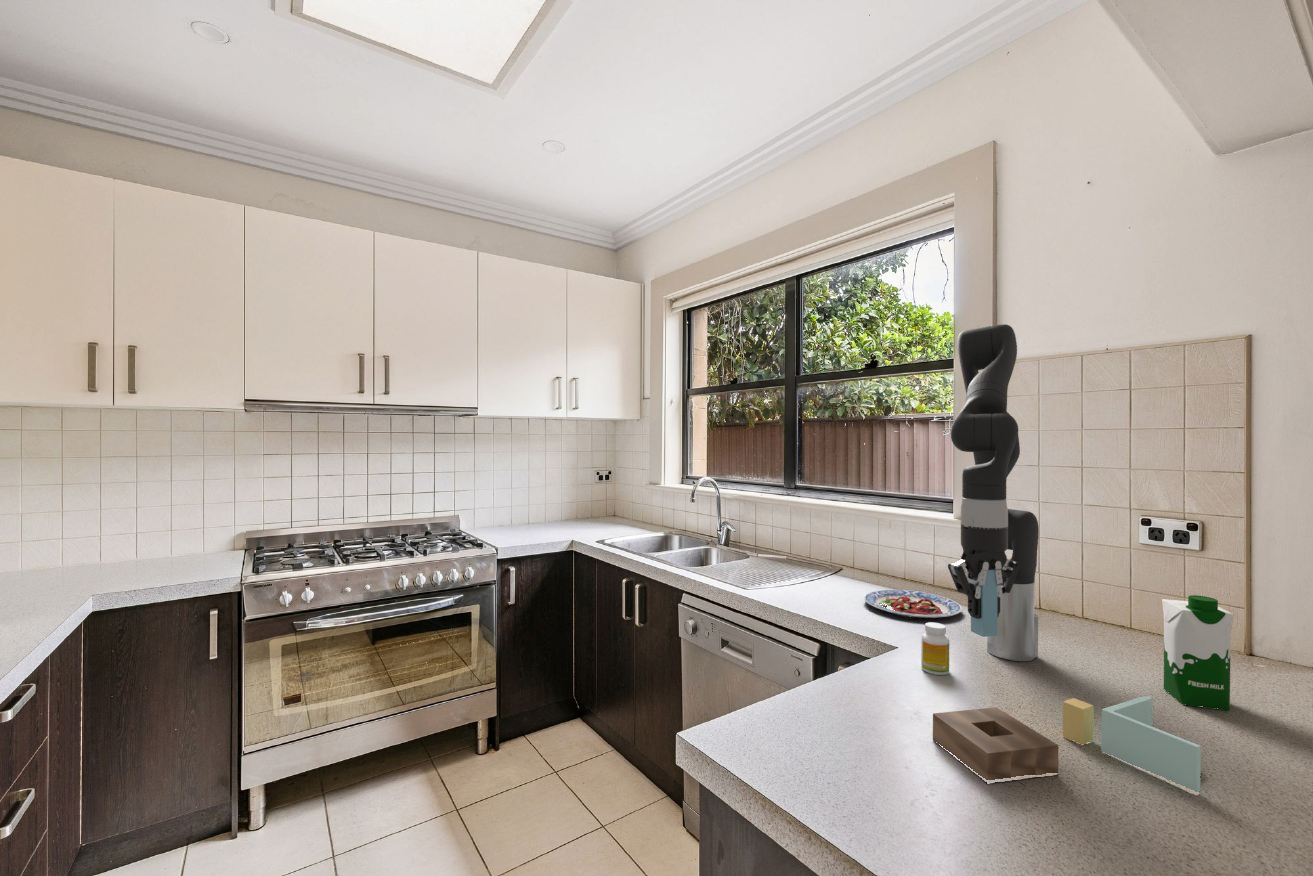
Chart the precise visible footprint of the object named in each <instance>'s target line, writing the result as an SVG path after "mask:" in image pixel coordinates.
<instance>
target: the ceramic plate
mask: <svg viewBox="0 0 1313 876" xmlns="http://www.w3.org/2000/svg"><path fill="white" fill-rule="evenodd" d="M864 601H865V602H866V603H867V604H868V605H870V606H872V607H874V608H875V609H879V610H881V611H885V612H888V613H890V612H891V614H893V613H895V614H894V615H897V614H899V615H898V616H901V615H903V616H902V617H906V616H911V617H910V618H914V617H920V618H919V619H934V618H935V619H936V618H944V617H945V618H946V617H947V618H948V617H952V616H955V615H958V614H960V613H961V612H962V610H963V608H962V606H961V604H959V603H958V602H957V601H955V600H953V599H950V598H948V597H946V596H945V597H944V596H941V595H939V594H934V593H929V592H924V591H918V590H907V589H881V590H874V591H871V592H868V593H866V594H865V595H864ZM917 601H918V602H917ZM882 603H883V604H884V603H885V604H887V605H888V606H891V607H892V609H893V610H890V609H887V608H886V607H887V605H886V606H885V604H884V605H883V604H882ZM880 604H882V605H880ZM882 606H883V607H882ZM938 606H939V607H938ZM884 607H885V608H884ZM940 608H941V609H940ZM894 610H895V611H894ZM941 610H943V611H941Z"/></svg>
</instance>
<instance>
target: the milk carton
mask: <svg viewBox="0 0 1313 876" xmlns="http://www.w3.org/2000/svg"><path fill="white" fill-rule="evenodd" d="M1187 597H1188V599H1187V600H1177V599H1166V598H1165V599H1163V598H1162V599H1161V601H1162V611H1163V612H1162V613H1163V690H1164V689H1165V690H1166V691H1165V690H1164V691H1165V692H1167V693H1168V692H1169V693H1168V694H1169V695H1170V694H1171V695H1172V696H1171V695H1170V696H1171V697H1173V698H1174V699H1175V698H1176V699H1177V700H1178V702H1179V703H1180V702H1181V703H1180V704H1181V705H1182V704H1186V705H1185V706H1187V705H1190V706H1189V707H1195V706H1203V707H1206V708H1205V709H1211V708H1216V709H1215V710H1219V709H1221V710H1220V711H1227V710H1230V709H1231V645H1232V644H1231V642H1232V641H1231V640H1232V639H1231V638H1232V637H1231V635H1232V628H1233V622H1234V616H1235V615H1234V613H1232V612H1230V611H1228V610H1226V609H1224V608H1222V607H1220V606H1219V600H1218V599H1216V598H1213V597H1209V596H1206V595H1204V596H1203V595H1196V594H1195V595H1194V594H1193V595H1192V594H1191V595H1188V596H1187ZM1176 699H1175V700H1176ZM1177 700H1176V701H1177ZM1203 707H1202V708H1203ZM1217 708H1218V709H1217ZM1230 711H1231V710H1230Z"/></svg>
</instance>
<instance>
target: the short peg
mask: <svg viewBox="0 0 1313 876" xmlns="http://www.w3.org/2000/svg"><path fill="white" fill-rule="evenodd" d="M1094 709H1095V708H1094V705H1093V704H1091V703H1088V702H1086V701H1082V700H1080V699H1077V698H1075V697H1072V698H1070V699H1067V700H1064V701H1062V737H1063V736H1064V737H1066V738H1069V739H1071V740H1074V741H1075V742H1078V743H1080V744H1086V743H1087V742H1091V741H1092V740H1093V741H1094ZM1066 738H1065V739H1066Z"/></svg>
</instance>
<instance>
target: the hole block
mask: <svg viewBox="0 0 1313 876" xmlns="http://www.w3.org/2000/svg"><path fill="white" fill-rule="evenodd" d="M933 740H934V741H935V742H937V743H938V744H940V745H941V746H943V748H945V749H946V750H948V751H949V752H951V753H952V754H953V755H955V756H956V757H957V758H958V759H960V761H962V762H963V763H964V764H966V765H967V766H968V767H970V768H971V769H973V771H975V772H976V773H978V775H980V776H982V777H983V778H985V779H986V780H995V779H1003V778H1011V777H1016V776H1024V775H1042V774H1046V773H1058V774H1059V747H1060V745H1059V744H1057V743H1055V742H1054V741H1053V740H1051V739H1049V738H1048V737H1046V736H1044V735H1043V734H1041V733H1039V732H1037V731H1036V730H1035V729H1033V728H1031V727H1030V726H1028V725H1027V724H1024V722H1022V721H1020V720H1018V719H1017V718H1015V717H1014V716H1011V714H1009V713H1007V712H1005V711H1003V710H1001V709H1000V707H997V706H996V707H985V708H977V709H976V708H974V709H967V710H965V709H964V710H955V711H945V712H944V711H943V712H937V713H936V712H935V713H934V712H933V713H932V741H933ZM934 741H933V742H934ZM935 742H934V743H935ZM938 744H937V745H938ZM943 748H942V749H943Z"/></svg>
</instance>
